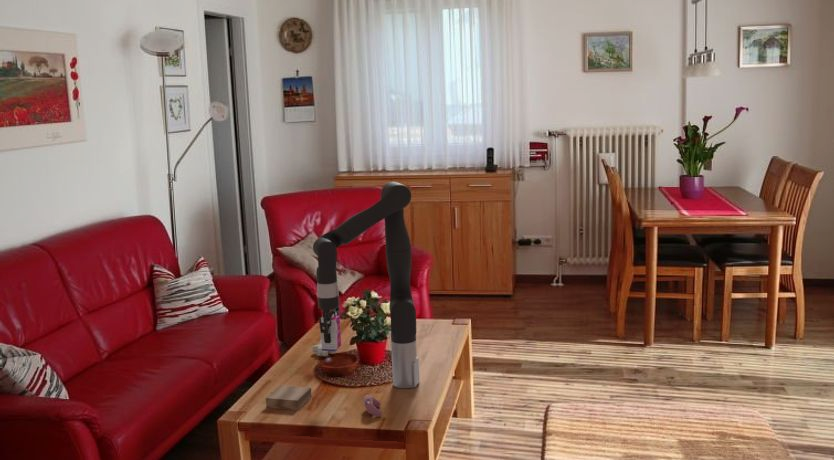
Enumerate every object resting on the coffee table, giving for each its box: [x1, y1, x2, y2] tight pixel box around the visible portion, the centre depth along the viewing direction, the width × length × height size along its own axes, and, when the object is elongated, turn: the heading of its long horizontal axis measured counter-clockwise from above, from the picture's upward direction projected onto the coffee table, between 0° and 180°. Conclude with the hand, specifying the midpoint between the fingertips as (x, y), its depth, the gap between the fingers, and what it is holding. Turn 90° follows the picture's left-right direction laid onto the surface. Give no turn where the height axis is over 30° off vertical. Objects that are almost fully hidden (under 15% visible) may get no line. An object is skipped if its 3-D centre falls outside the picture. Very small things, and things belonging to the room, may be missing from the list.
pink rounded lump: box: [363, 394, 383, 418], centre depth 288 cm, size 10×5×7 cm, turn 5°
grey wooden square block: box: [265, 385, 313, 411], centre depth 300 cm, size 12×12×4 cm
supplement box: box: [320, 316, 342, 352], centre depth 299 cm, size 6×6×12 cm
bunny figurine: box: [312, 339, 337, 357], centre depth 351 cm, size 10×5×15 cm
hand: (331, 339), depth 299 cm, fingers closed on supplement box, 6 cm apart
